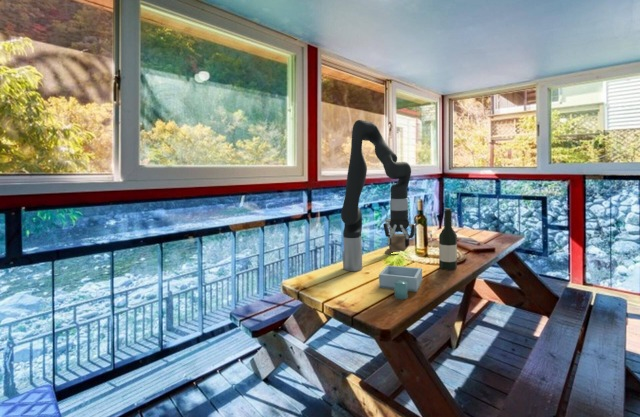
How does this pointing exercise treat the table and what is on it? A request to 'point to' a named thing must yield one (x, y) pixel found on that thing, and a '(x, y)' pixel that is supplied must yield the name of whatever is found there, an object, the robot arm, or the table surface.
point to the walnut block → (398, 242)
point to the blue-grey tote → (400, 277)
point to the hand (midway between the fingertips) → (399, 246)
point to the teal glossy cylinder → (401, 289)
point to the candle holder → (389, 240)
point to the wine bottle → (448, 244)
